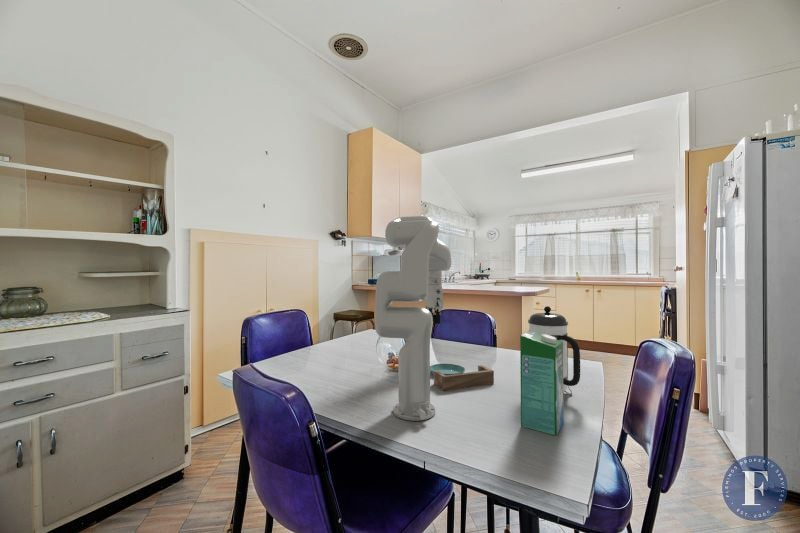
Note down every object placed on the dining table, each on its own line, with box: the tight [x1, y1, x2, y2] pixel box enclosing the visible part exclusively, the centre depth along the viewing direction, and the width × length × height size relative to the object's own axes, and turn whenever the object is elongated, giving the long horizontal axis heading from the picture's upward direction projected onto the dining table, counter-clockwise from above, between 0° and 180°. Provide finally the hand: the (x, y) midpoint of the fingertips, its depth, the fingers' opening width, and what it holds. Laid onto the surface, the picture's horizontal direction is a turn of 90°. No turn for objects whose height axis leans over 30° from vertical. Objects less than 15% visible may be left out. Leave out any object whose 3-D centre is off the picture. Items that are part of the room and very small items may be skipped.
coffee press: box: [527, 306, 581, 396], centre depth 115 cm, size 17×16×30 cm
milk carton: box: [519, 330, 565, 436], centre depth 92 cm, size 9×9×25 cm
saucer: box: [430, 363, 466, 375], centre depth 136 cm, size 15×15×3 cm
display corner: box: [433, 364, 495, 392], centre depth 124 cm, size 8×21×5 cm, turn 111°
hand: (433, 322), depth 148 cm, fingers open, 5 cm apart
